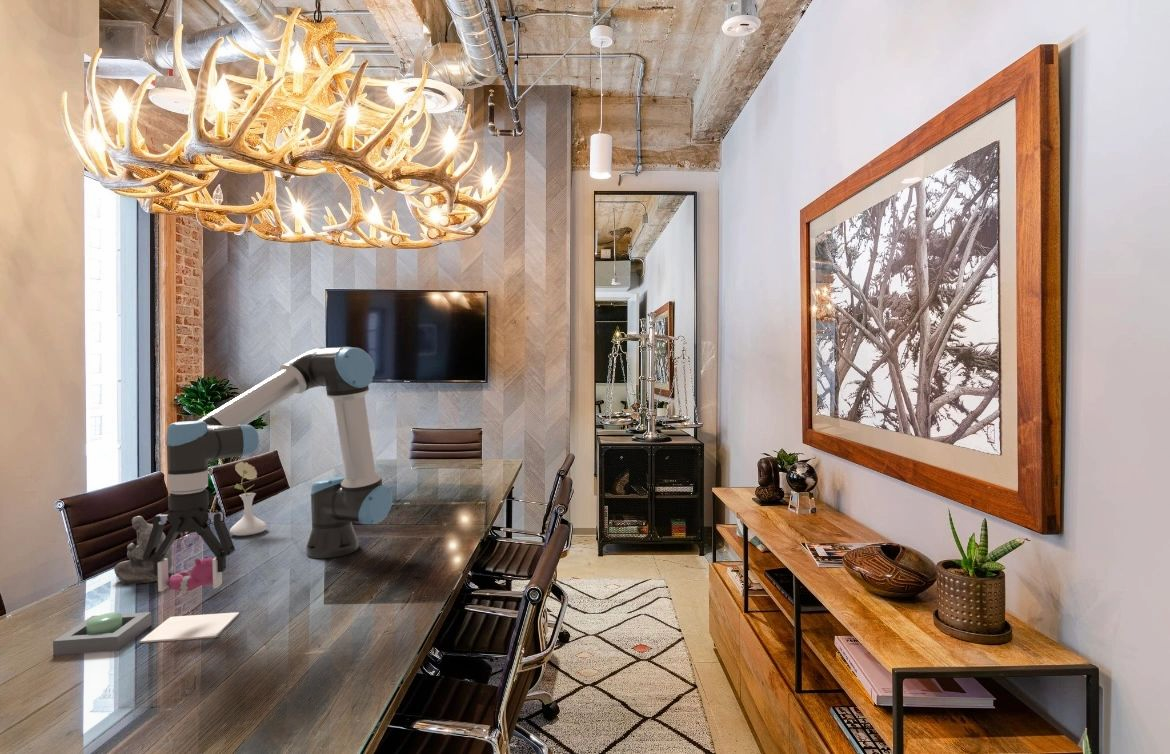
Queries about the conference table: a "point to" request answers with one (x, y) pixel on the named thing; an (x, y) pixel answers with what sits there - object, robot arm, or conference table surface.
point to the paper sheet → (190, 627)
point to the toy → (193, 576)
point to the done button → (104, 623)
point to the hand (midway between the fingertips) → (190, 587)
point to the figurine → (140, 557)
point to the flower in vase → (247, 505)
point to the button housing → (101, 636)
